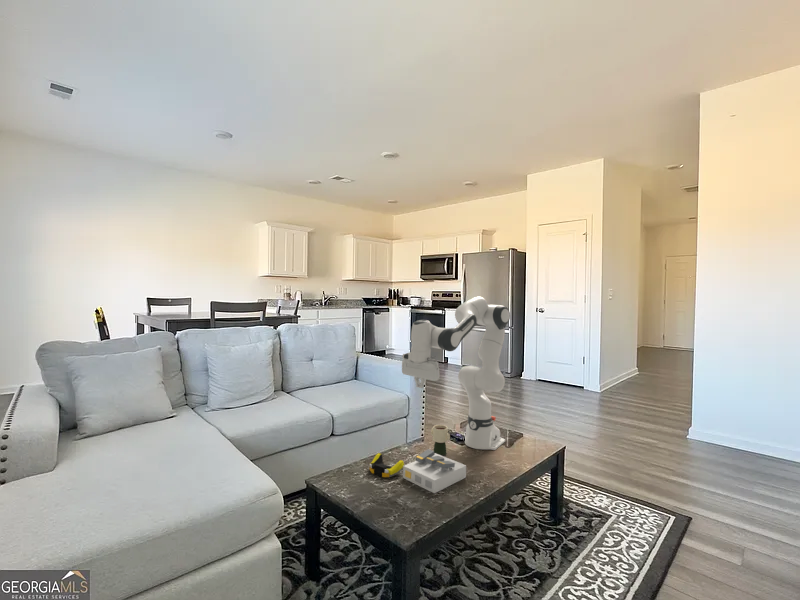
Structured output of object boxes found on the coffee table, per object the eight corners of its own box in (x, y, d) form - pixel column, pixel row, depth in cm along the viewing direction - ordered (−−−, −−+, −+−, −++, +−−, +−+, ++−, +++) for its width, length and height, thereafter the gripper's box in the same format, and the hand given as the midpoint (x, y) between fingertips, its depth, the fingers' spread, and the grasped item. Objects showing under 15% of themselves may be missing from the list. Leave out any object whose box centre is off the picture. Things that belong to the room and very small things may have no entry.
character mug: (453, 455, 187) (454, 428, 187) (444, 460, 182) (445, 431, 181) (435, 449, 194) (436, 422, 194) (426, 453, 189) (426, 426, 189)
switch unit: (434, 464, 177) (435, 450, 177) (465, 477, 165) (466, 462, 165) (402, 478, 163) (402, 462, 163) (433, 493, 151) (434, 477, 151)
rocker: (437, 459, 168) (438, 455, 168) (444, 462, 165) (444, 457, 166) (425, 462, 162) (425, 457, 162) (431, 464, 160) (432, 460, 160)
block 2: (447, 464, 164) (448, 460, 164) (454, 467, 161) (455, 463, 162) (435, 465, 158) (436, 461, 159) (442, 468, 156) (442, 463, 156)
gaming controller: (378, 463, 177) (363, 471, 169) (378, 451, 177) (363, 458, 168) (406, 473, 168) (391, 481, 160) (406, 460, 168) (392, 468, 160)
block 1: (428, 452, 172) (428, 448, 172) (434, 454, 169) (434, 451, 169) (416, 460, 166) (415, 457, 166) (421, 463, 164) (421, 459, 164)
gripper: (443, 358, 172) (442, 390, 172) (409, 353, 186) (408, 382, 186) (433, 360, 167) (432, 393, 167) (399, 354, 182) (399, 384, 182)
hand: (419, 387), depth 177 cm, fingers closed
